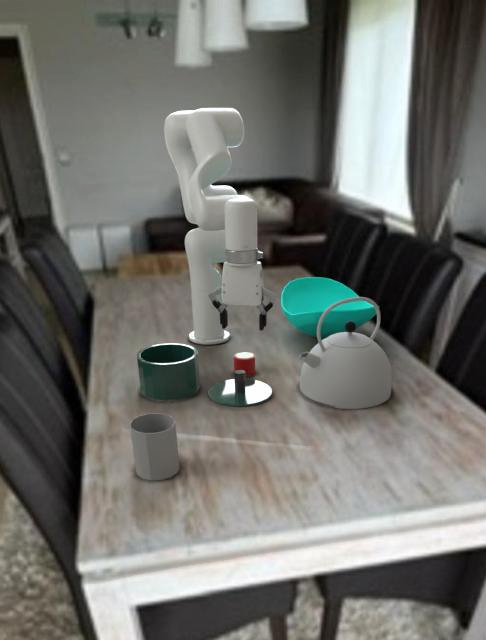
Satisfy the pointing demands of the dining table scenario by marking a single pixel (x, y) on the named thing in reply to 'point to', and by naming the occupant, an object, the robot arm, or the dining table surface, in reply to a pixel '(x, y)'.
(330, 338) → the kettle
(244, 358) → the red short cylinder
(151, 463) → the cup
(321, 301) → the table top decor
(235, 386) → the pot lid
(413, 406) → the dining table surface
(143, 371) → the pot
